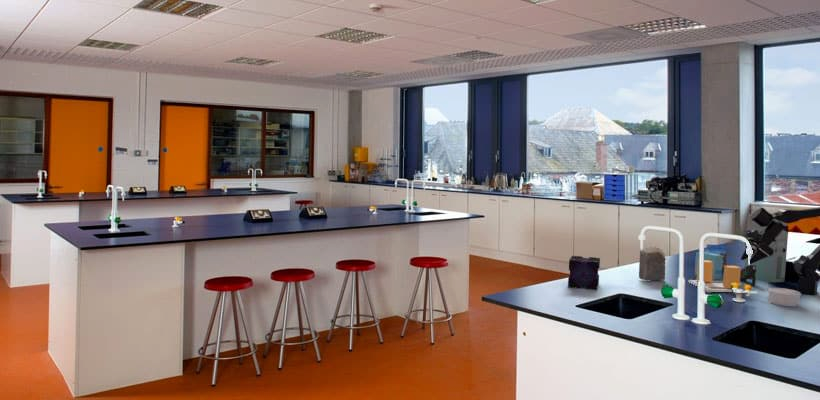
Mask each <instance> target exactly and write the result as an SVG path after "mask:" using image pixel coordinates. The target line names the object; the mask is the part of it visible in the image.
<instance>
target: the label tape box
mask: <svg viewBox="0 0 820 400" xmlns="http://www.w3.org/2000/svg"><path fill="white" fill-rule="evenodd" d="M705 252H709V253H714V254H719V255H721V256H722V257H723V263H722V270H724V266H727V251H726V250H725V244H706V249H705Z"/></svg>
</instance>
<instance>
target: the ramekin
mask: <svg viewBox="0 0 820 400" xmlns="http://www.w3.org/2000/svg"><path fill="white" fill-rule="evenodd" d="M767 292H768V301H769V302H770V304H772V305H776V306H782V307H796V306H798V305H799V304H798V303H799V300H800V297H801V294H802V293H800V292H798V290H794V289H790V288H783V287H769V288H768V289H767Z"/></svg>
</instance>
